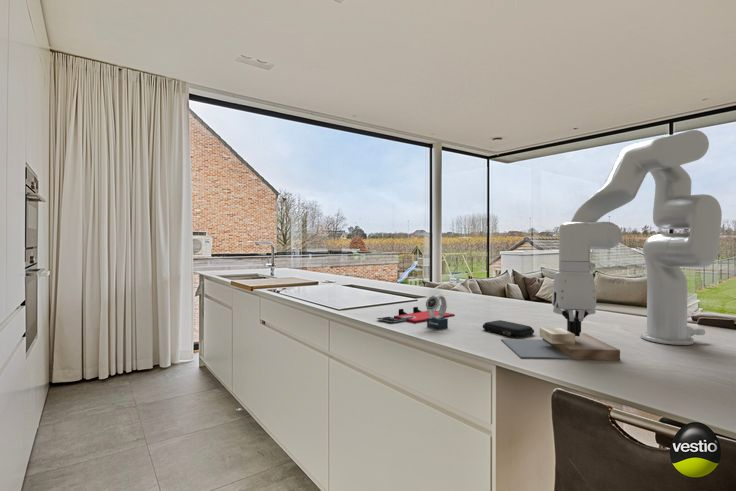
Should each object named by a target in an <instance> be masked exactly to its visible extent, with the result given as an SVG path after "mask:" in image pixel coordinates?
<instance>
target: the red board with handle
mask: <svg viewBox="0 0 736 491" xmlns="http://www.w3.org/2000/svg"><path fill="white" fill-rule="evenodd" d="M412 308H413V309H412V313H411V312H410V313H407V312H405V311H404V309H403V308H399V309H398V314H397V315H394V316H393V317H392V316H385V317H378V318H376V319H377V320H379V321H384V322H388V323H397V322H403V323H405V322H407V323H411V324H416V325H417V324H420V323H425V322H426V323H427V318H429V317H430V316H429V313H428V311H427V310H425V311H424V310H423V311H422V310H420V309H419V307H418V306H413V307H412ZM438 312H439V310H436V311H435V313H434V315H435V316H438ZM455 316H456V315H455V313H450V312H445V314H444V316H443V317H442V318H447V319H448V318H452V317H455Z"/></svg>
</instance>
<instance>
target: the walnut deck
mask: <svg viewBox="0 0 736 491" xmlns="http://www.w3.org/2000/svg"><path fill="white" fill-rule="evenodd" d="M542 340H544V341H545V342H547V343H549V344H550V345H552V346H553V347H555V348H556V349H558V350H559V351H561V352H562V353H564V354H565V355H567V356H569V357H570V359H569V360H600V361H601V360H604V361H605V360H607V361H621V350H620V349H619V348H617V347H615V346H613V345H610V344H609V343H606V342H604V341H602V340H600V339H598V338H595V337H594V336H591V335H589V334H587V333H585V332H581V333H580V336H575V344H552V343H550V342H548V341H547V340H545V339H543V338H542Z"/></svg>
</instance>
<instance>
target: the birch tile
mask: <svg viewBox="0 0 736 491" xmlns="http://www.w3.org/2000/svg"><path fill="white" fill-rule="evenodd" d="M539 337H540V338H541V339H542V340H543V339H545V340H547V341H548V342H550V343H552V344H575V334H573V333H571V332H569V331H567V329H564V328H563V327H539Z"/></svg>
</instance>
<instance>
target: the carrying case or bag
mask: <svg viewBox="0 0 736 491" xmlns="http://www.w3.org/2000/svg"><path fill="white" fill-rule="evenodd" d="M482 328H483V329H484V331H486V332H490V333H494V334H498V335H503V336H507V337H510V338H514V339H519V338H524V337H525V338H526V337H530V336H533V335H534V333H535V329H533V327H532V326H530V325H525V324H522V323H515V322H511V321H507V320H500V319H499V320H492V321H487V322H484V323H483V324H482Z"/></svg>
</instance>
